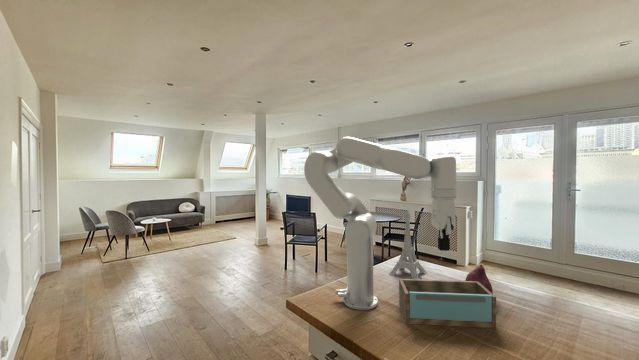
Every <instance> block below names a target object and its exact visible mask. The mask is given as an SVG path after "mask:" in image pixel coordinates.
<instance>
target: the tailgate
mask: <svg viewBox="0 0 639 360" xmlns="http://www.w3.org/2000/svg"><path fill="white" fill-rule="evenodd" d="M409 317H410V318H422V319H441V320H461V321H481V322H492V296H491V295H485V294H459V293H433V292H409Z"/></svg>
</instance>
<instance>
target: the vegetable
mask: <svg viewBox="0 0 639 360" xmlns="http://www.w3.org/2000/svg"><path fill="white" fill-rule="evenodd" d="M464 281H478V282H479V283H480V284H482V285H483V286H484V287H485V288H486V289H487V290H489V291H490V292H491V293H492V294H493V293H494V292H493V287H492V284H491V282H490V279H489V277H488V276H487V273H486V269H485V267H484V265H482V264H480V265H477V266H476V267H475V268H474V269H472V270H471V271H469V273H467V275H466V276H465V279H464ZM493 295H494V294H493Z"/></svg>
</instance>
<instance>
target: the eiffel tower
mask: <svg viewBox="0 0 639 360" xmlns="http://www.w3.org/2000/svg"><path fill="white" fill-rule="evenodd" d="M404 219H405V230H404V241H403V247H402V248H401V249H402V251H401V253H400V256H399V259H398V260H397V261H396V264H395V265H394V267H393V269H392V270H391V271H390V272H389V273H388V276H393V277H394V276H396V275H397V272H398V270H405V269H407V271H409V272H410V274H411V279H419V280H420V278H419V276H418V271H419V274H422V273H423V274H422V275H426V274H427V273H428V272H427V271H426V269H425V268H424V267H423V266H422V265H421V263H420V259H417V257H416V254H415V251H414V247H413V244H412V243H413V242H412V235H411V224H410V223H411V222H410V219H411V213H410V211H409V210H406V212H405V216H404ZM399 268H400V269H399ZM417 269H418V271H417Z"/></svg>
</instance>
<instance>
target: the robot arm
mask: <svg viewBox="0 0 639 360" xmlns="http://www.w3.org/2000/svg"><path fill="white" fill-rule="evenodd" d="M304 162H305V163H304V167H303V169H304V170H303V171H304V172H303V173H304V176H305V177H304V178H305V179H306V182H307V184H308V185H309V186H310V188H311V189H312V191H314V193H315V194H316V195H317V196H318V198H319V199H320V200H321V202H322V203H323V204H324V206H325V207H326V208H327V210H328V211H329V212H330V213H331V214H332V216H333V217H335V218H336V219H339V220H343V219H345V220H346V221H347V223H346V227H345V230H344V232H345V233H344V235H345V242H346V244H345V245H346V267H347V268H346V270H347V273H346V274H347V275H346V276H347V277H346V281H347V282H346V283H347V284H346V288H343V289H340V288H335V290H334V293H335V295H337V297H338V298H342V299H343V300H342V301H343V303H344V305H345V306H347V307H348V308H350V309H354V310H358V311H368V310H372V309H375V308H376V307H377V306H378V305H379V299H378V298H377V296H376V295H374V291H375V289H374V248H373V247H374V245H373V235H374V234H375V233H376V231H377V229H378V224H377V220H376V218H375V216H373V214H372V213H371V212H370V211H369V209H368V208H367V207H366V206H365V205H364V203H363V202H362V201H361V200H360V199H359V198H358V196H356V195H355V194H353V193H352V192H348V191H347V192H345V191H343V189H342V188H341V187H340V186H339V185H338V183H337V182H336V181H335V180H334V179H333V178H332V177H331V176H330V175H329V174H332V173H335V172H336V171H339V170H340V169H342V168H344V167H346V166H349V165H351V164H353V163H355V164H360V165H362V166H366V167H370V168H372V169H375V170H380V171H381V170H382V171H387V172H390V173H393V174H396V175H400V176H403V177H407V178H411V179H413V180H422V179H427V178H430V198H431V199H432V202H431V212H430V213H431V216H430V217H431V219H430V222H431V226H432V227H433V228H435V229H436V230H437V249H438V250H439V251H442V252H443V251H445V252H446V251H450V249H451V246H450V245H451V244H450V242H451V239H450V238H451V236H452V231H454V230H455V229H456V205H455V200H457V159H456V158H455V157H454V156H452V155H451V156H449V155H442V156H434V157H425V156H422V155H419V154H414V153H411V152H408V151H404V150H400V149H395V148H393V147H388V146H387V145H383V144H379V143H375V142H371V141H367V140H363V139H360V138H356V137H352V136H343V137H342V138H340V139H339V140H338V141H337V143H336V146H335V148H334V149H332V150H330V151H323V150H316V151H313V152H311V153H310V154H309V155H308V156H307V158H306V160H305V161H304Z"/></svg>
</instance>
